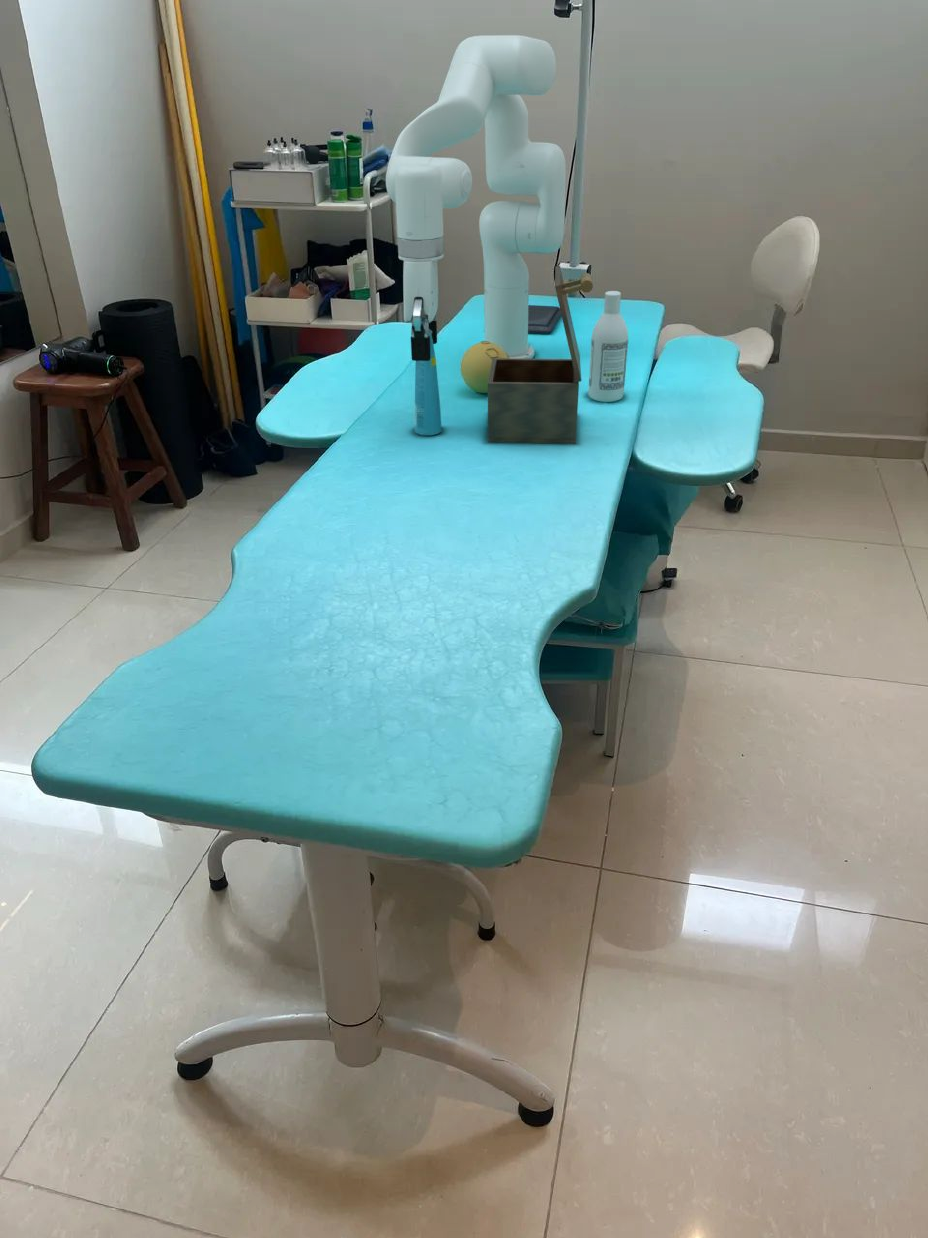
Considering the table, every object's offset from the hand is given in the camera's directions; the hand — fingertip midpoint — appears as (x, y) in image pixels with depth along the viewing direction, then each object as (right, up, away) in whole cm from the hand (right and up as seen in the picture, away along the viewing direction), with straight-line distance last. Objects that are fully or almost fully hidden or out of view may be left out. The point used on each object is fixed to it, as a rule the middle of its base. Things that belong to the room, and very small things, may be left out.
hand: (424, 351), depth 160 cm
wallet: (+23, +27, +66) cm, 75 cm away
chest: (+19, -12, +8) cm, 24 cm away
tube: (0, -12, +9) cm, 15 cm away
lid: (+24, +4, -2) cm, 25 cm away
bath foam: (+35, -3, +21) cm, 41 cm away
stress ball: (+11, -1, +25) cm, 28 cm away
